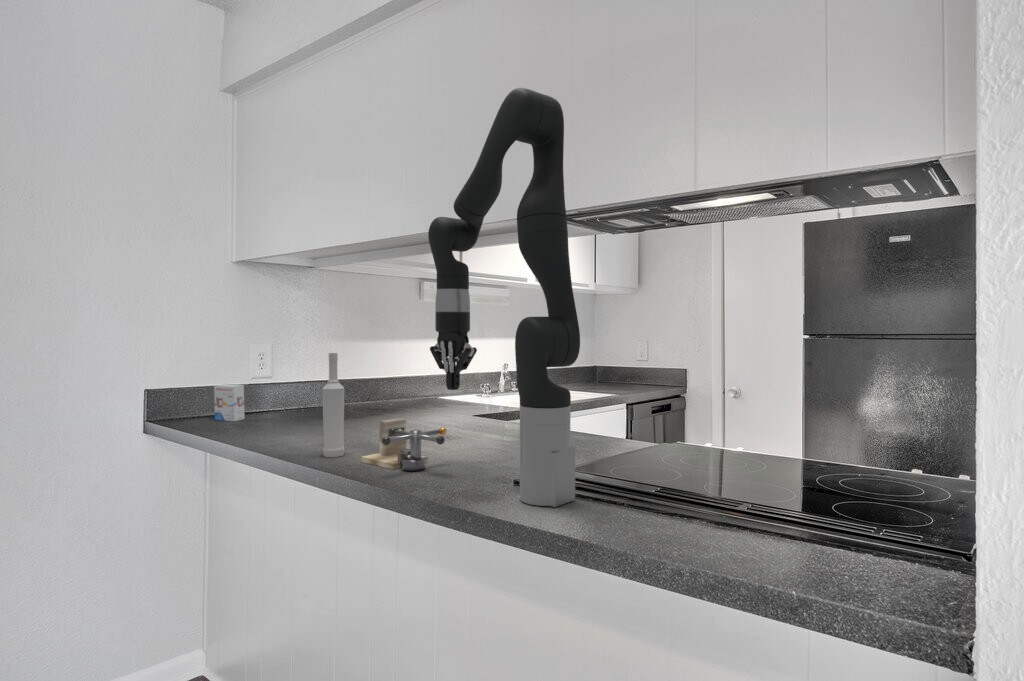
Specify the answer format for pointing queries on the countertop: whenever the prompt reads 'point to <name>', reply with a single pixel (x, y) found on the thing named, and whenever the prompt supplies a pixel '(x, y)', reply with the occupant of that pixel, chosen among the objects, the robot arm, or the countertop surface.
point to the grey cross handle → (414, 445)
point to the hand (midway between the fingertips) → (452, 389)
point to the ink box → (229, 402)
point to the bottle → (333, 412)
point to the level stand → (390, 446)
